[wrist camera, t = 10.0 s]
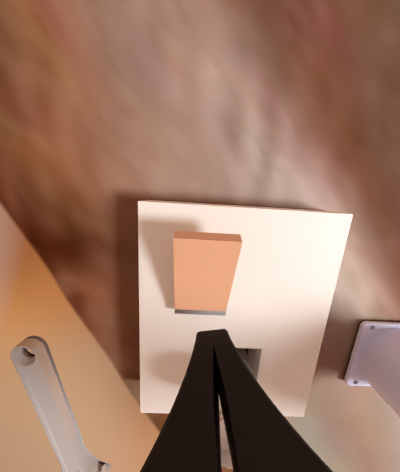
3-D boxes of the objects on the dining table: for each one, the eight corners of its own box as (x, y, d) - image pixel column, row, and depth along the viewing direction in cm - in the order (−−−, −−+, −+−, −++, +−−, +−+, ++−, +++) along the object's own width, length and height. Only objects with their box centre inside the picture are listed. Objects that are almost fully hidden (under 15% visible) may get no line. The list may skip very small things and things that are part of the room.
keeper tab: (240, 234, 11) (242, 242, 11) (223, 308, 15) (224, 317, 15) (174, 230, 11) (172, 239, 10) (175, 305, 15) (174, 315, 15)
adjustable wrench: (19, 335, 20) (3, 349, 18) (80, 330, 20) (69, 343, 18) (71, 493, 25) (61, 516, 23) (118, 489, 25) (112, 511, 23)
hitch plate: (325, 210, 17) (353, 214, 14) (288, 385, 21) (303, 416, 18) (148, 199, 16) (137, 200, 13) (148, 381, 21) (140, 412, 18)
